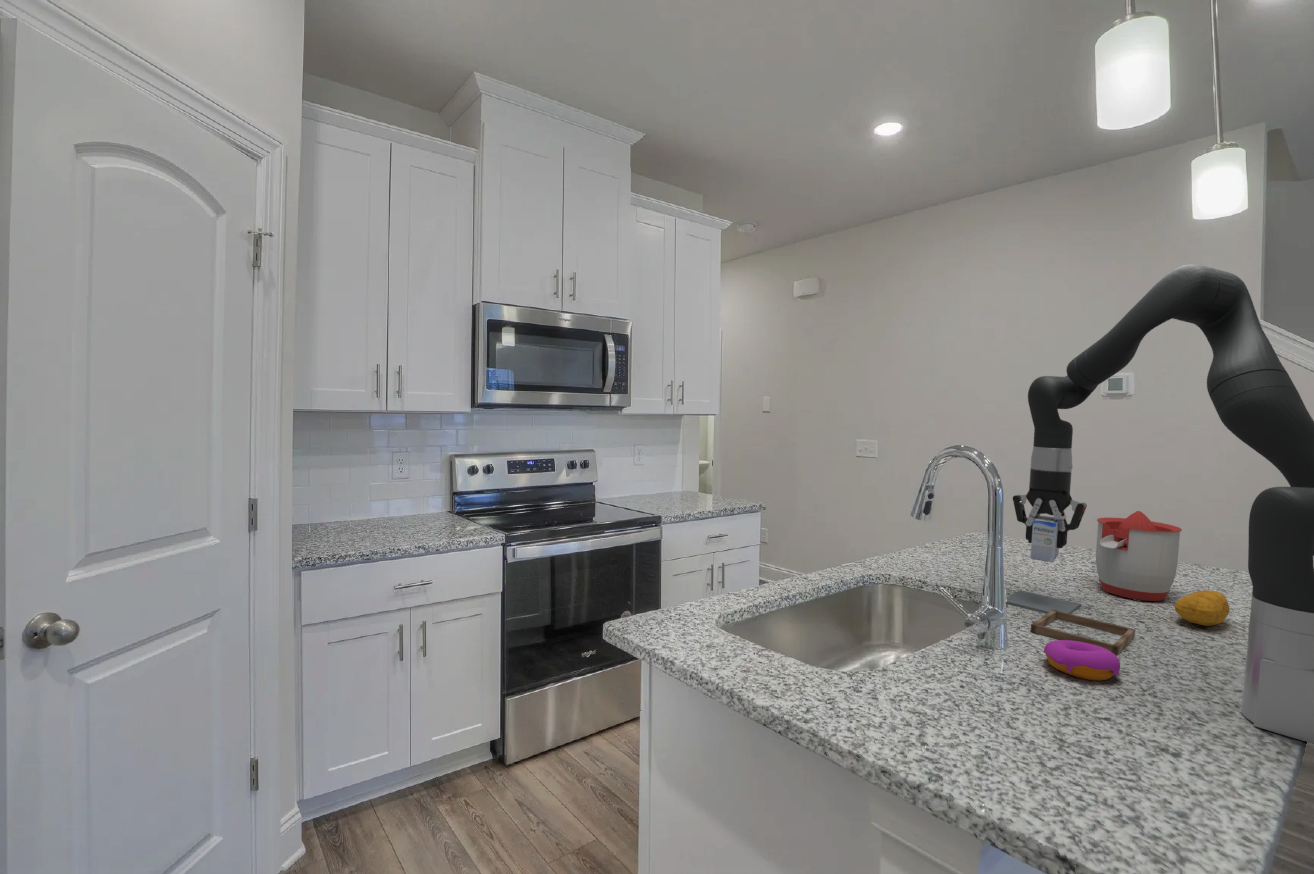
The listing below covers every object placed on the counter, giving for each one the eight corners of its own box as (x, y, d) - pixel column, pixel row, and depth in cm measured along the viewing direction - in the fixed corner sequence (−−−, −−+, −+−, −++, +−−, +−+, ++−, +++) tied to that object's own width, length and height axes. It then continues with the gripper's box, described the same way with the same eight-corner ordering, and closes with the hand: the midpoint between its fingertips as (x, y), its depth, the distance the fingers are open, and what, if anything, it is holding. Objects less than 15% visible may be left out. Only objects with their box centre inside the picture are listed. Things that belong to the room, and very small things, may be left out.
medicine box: (1035, 552, 137) (1038, 514, 137) (1058, 556, 134) (1061, 517, 134) (1029, 559, 131) (1032, 519, 131) (1054, 563, 128) (1057, 522, 128)
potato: (1237, 624, 124) (1240, 591, 124) (1214, 636, 117) (1217, 602, 117) (1189, 612, 131) (1191, 581, 131) (1165, 623, 124) (1167, 591, 123)
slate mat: (1064, 617, 125) (1064, 615, 125) (1001, 602, 134) (1001, 600, 134) (1080, 606, 133) (1080, 603, 133) (1020, 592, 142) (1020, 590, 142)
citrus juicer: (1070, 587, 147) (1076, 506, 146) (1122, 582, 152) (1128, 504, 151) (1138, 608, 132) (1145, 518, 131) (1193, 602, 138) (1200, 516, 136)
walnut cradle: (1117, 655, 106) (1117, 647, 106) (1030, 631, 116) (1031, 624, 116) (1134, 637, 115) (1135, 629, 115) (1052, 616, 125) (1053, 609, 125)
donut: (1116, 669, 101) (1118, 642, 101) (1121, 692, 92) (1123, 663, 92) (1043, 653, 107) (1045, 628, 106) (1042, 674, 98) (1044, 647, 98)
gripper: (1008, 465, 134) (1003, 541, 135) (1085, 472, 124) (1079, 554, 125) (1020, 464, 139) (1015, 536, 140) (1094, 470, 129) (1089, 549, 130)
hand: (1045, 544), depth 133 cm, fingers closed on medicine box, 5 cm apart
